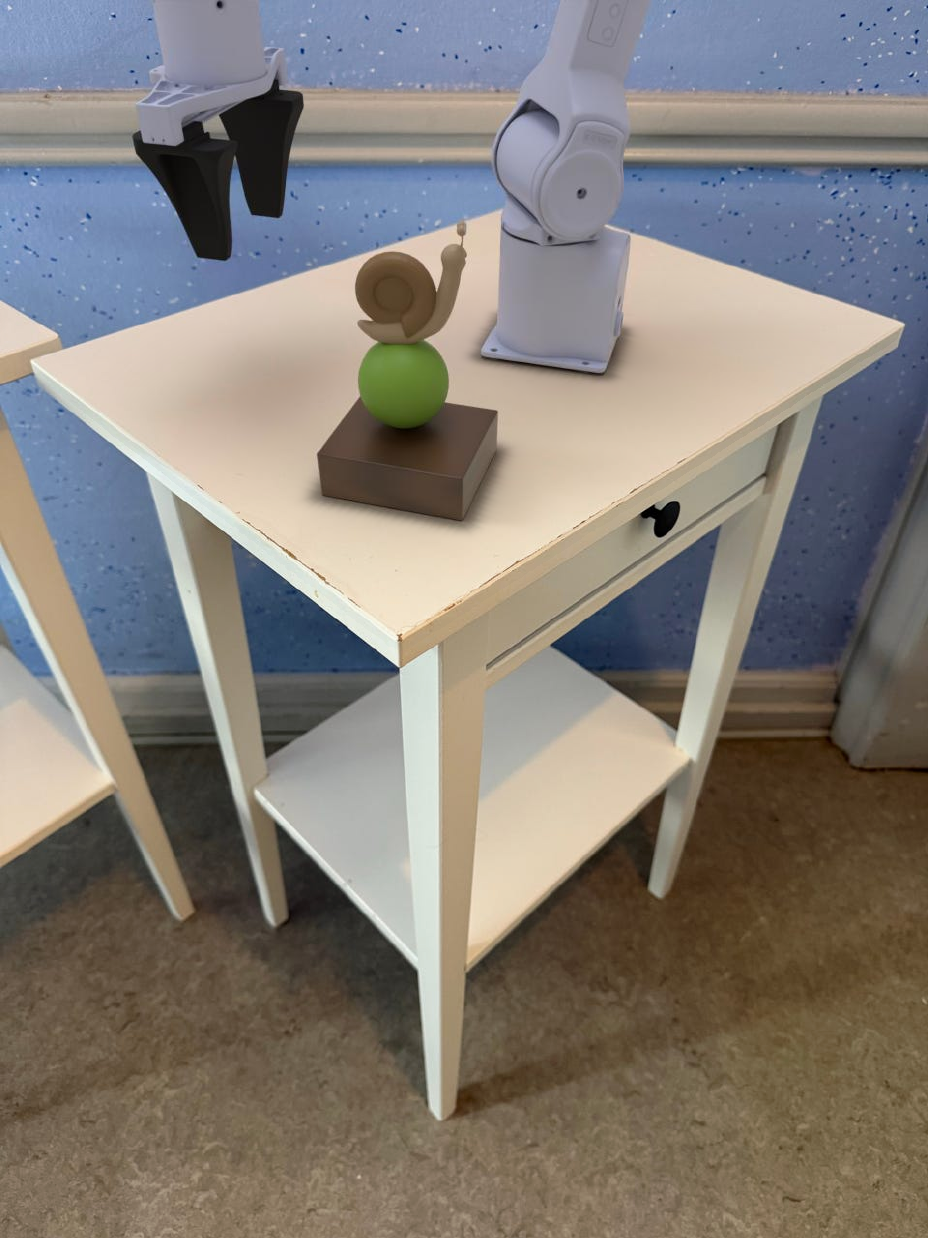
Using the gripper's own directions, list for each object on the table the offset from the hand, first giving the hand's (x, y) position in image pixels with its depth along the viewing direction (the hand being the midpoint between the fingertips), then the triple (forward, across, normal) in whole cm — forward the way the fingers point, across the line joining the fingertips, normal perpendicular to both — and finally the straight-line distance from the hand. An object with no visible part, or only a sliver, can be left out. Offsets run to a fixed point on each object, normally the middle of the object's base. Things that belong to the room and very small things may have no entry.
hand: (241, 235), depth 59 cm
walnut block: (+10, +8, +14) cm, 19 cm away
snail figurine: (+8, +7, +14) cm, 17 cm away
